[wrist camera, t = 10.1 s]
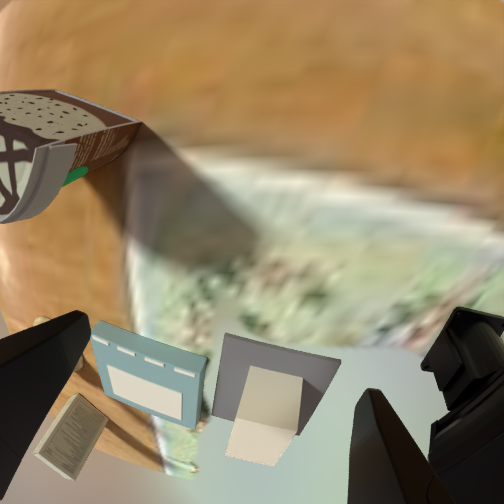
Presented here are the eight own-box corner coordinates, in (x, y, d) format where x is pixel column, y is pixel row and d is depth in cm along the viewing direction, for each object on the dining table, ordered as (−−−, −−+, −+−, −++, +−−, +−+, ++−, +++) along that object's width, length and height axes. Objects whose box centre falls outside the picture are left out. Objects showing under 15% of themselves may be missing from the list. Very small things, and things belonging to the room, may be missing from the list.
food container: (30, 152, 20) (-62, 185, 11) (44, 85, 17) (-56, 97, 9) (133, 209, 21) (34, 276, 12) (160, 129, 18) (43, 152, 9)
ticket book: (206, 357, 25) (199, 374, 23) (200, 415, 30) (194, 430, 28) (100, 319, 26) (88, 332, 24) (112, 382, 31) (104, 395, 29)
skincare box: (70, 396, 36) (30, 452, 25) (79, 391, 34) (36, 452, 24) (100, 423, 38) (66, 479, 27) (111, 419, 36) (75, 482, 25)
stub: (303, 377, 24) (297, 431, 19) (282, 420, 27) (274, 466, 22) (250, 365, 24) (235, 417, 19) (237, 409, 27) (224, 455, 22)
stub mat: (341, 359, 23) (341, 363, 22) (299, 432, 28) (299, 435, 28) (225, 332, 24) (224, 335, 23) (212, 412, 29) (211, 415, 29)
